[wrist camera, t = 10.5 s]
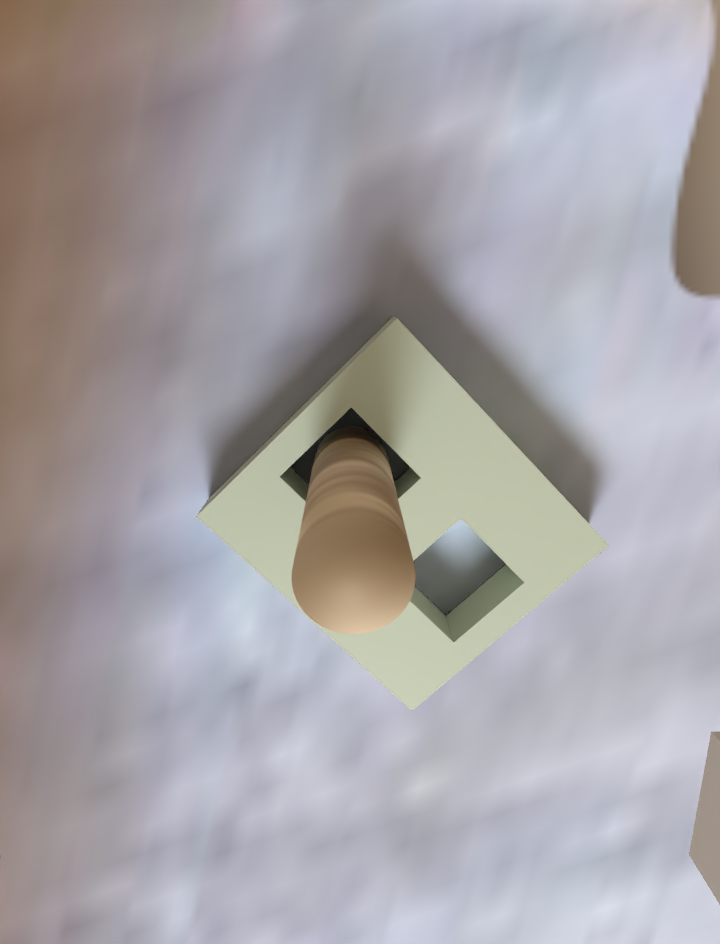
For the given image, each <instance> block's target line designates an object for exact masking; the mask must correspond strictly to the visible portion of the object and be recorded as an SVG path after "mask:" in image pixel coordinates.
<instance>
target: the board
mask: <svg viewBox="0 0 720 944" xmlns="http://www.w3.org/2000/svg"><path fill="white" fill-rule="evenodd" d="M350 408H352V409H353V410H354V411H355V412H356V413H357V414H358V415H359V416H360V417H361V418H362V419H363V420H364V421H365V422H366V423H367V424H368V425H369V426H370V427H371V428H372V429H373V430H374V431H375V432H376V433H377V434H378V435H379V436H380V437H381V438H382V439H383V440H384V441H385V442H386V443H387V444H388V445H389V446H390V447H391V448H392V449H393V450H394V451H395V452H396V453H397V454H398V455H399V456H400V457H401V458H402V459H403V460H404V461H405V462H406V463H407V464H408V465H409V466H410V468H409V469H408V470H407V471H406V472H405V473H404V474H403V475H402V476H401V477H400V478H399V479H397V480H396V481H395V482H394V485H395V489H396V493H397V497H398V501H399V505H400V509H401V513H402V517H403V521H404V525H405V529H406V533H407V537H408V541H409V545H410V549H411V553H412V558H413V561H414V560H415V559H416V558H417V557H418V556H419V555H421V554H422V553H423V552H424V551H425V550H426V549H427V548H428V547H430V546H431V545H432V544H433V543H434V542H435V541H436V540H437V539H438V538H440V537H441V536H442V535H443V534H444V533H445V532H446V531H447V530H449V529H450V528H451V527H452V526H453V525H454V524H455V523H456V522H457V521H459V520H460V519H462V520H463V521H464V522H465V523H466V524H467V525H468V526H469V527H470V528H471V529H472V530H473V531H474V532H475V533H476V534H477V535H478V536H479V537H480V538H481V539H482V540H483V541H484V542H485V543H486V544H487V545H488V546H489V547H490V548H491V549H492V550H493V551H494V552H495V553H496V554H497V555H498V556H499V557H500V558H501V559H502V560H503V561H504V562H505V563H506V565H504V566H503V567H502V568H501V569H500V570H499V571H497V572H496V573H495V574H494V575H493V576H492V577H490V578H489V579H488V580H487V581H486V582H485V583H484V584H482V585H481V586H480V587H479V588H478V589H477V590H475V591H474V592H473V593H472V594H471V595H470V596H468V597H467V598H466V599H465V600H464V601H463V602H462V603H460V604H459V605H458V606H457V607H456V608H455V609H453V610H452V611H451V612H450V613H449V614H448V615H446V616H445V615H444V614H443V613H442V612H441V611H440V610H439V609H438V608H437V607H436V606H435V605H434V604H433V603H432V602H431V601H429V600H428V599H427V598H426V597H425V596H424V595H423V594H422V593H421V592H420V591H419V590H418V589H417V588H416V587H414V591H413V594H412V597H411V599H410V601H409V603H408V605H407V607H406V608H405V609H404V611H403V612H402V613H401V614H400V615H399V616H398V617H397V618H396V619H395V620H393V621H392V622H391V623H389V624H388V625H386V626H384V627H382V628H380V629H378V630H375V631H372V632H368V633H363V634H344V633H338V632H335V631H331V630H329V629H326V628H324V627H322V626H320V625H319V624H317V623H316V622H314V621H313V620H312V619H311V618H309V617H308V615H307V614H306V613H305V612H304V611H303V610H302V608H301V607H300V605H299V604H298V602H297V600H296V597H295V595H294V592H293V587H292V579H291V578H292V568H293V563H294V558H295V553H296V548H297V543H298V538H299V533H300V528H301V523H302V518H303V513H304V508H305V503H306V498H307V493H308V488H309V484H308V483H307V482H306V481H305V480H303V479H302V478H301V477H300V476H299V475H298V474H297V473H296V472H295V471H294V470H293V469H292V468H291V467H290V466H291V465H292V464H293V463H294V462H295V461H296V460H297V459H298V458H299V457H301V456H302V455H303V454H304V453H305V452H306V451H307V450H308V449H309V448H310V447H311V446H312V445H313V444H314V443H315V442H316V441H317V440H318V439H319V438H320V437H321V436H322V435H323V434H324V433H325V432H326V431H327V430H328V429H329V428H330V427H331V426H332V425H333V424H335V423H336V422H337V421H338V420H339V419H340V418H341V417H342V416H343V415H344V414H345V413H346V412H347V411H348V410H349V409H350ZM196 517H197V518H198V519H200V520H201V521H202V522H203V523H204V524H205V525H206V526H207V527H208V528H210V529H211V530H212V531H213V532H214V533H215V534H216V535H217V536H218V537H220V538H221V539H222V540H223V541H224V542H225V543H226V544H227V545H228V546H230V547H231V548H232V549H233V550H234V551H235V552H236V553H237V554H238V555H239V556H241V557H242V558H243V559H244V560H245V561H246V562H247V563H248V564H249V565H251V566H252V567H253V568H254V569H255V570H256V571H257V572H258V573H259V574H261V575H262V576H263V577H264V578H265V579H266V580H267V581H268V582H269V583H271V584H272V585H273V586H274V587H275V588H276V589H277V590H278V591H279V592H280V593H282V594H283V595H284V596H285V597H286V598H287V599H288V600H289V601H290V602H292V603H293V604H294V605H295V606H296V607H297V608H298V609H299V610H300V611H302V612H303V613H304V614H305V615H306V616H307V617H308V618H309V619H310V620H311V621H313V622H314V623H315V624H316V625H317V626H318V627H319V628H320V629H321V630H323V631H324V632H325V633H326V634H327V635H328V636H329V637H330V638H331V639H333V640H334V641H335V642H336V643H337V644H338V645H339V646H340V647H341V648H343V649H344V650H345V651H346V652H347V653H348V654H349V655H350V656H351V657H352V658H354V659H355V660H356V661H357V662H358V663H359V664H360V665H361V666H362V667H364V668H365V669H366V670H367V671H368V672H369V673H370V674H371V675H372V676H374V677H375V678H376V679H377V680H378V681H379V682H380V683H381V684H382V685H383V686H385V687H386V688H387V689H388V690H389V691H390V692H391V693H392V694H393V695H395V696H396V697H397V698H398V699H399V700H400V701H401V702H402V703H403V704H405V705H406V706H407V707H408V708H409V709H410V710H411V711H412V710H414V709H415V708H416V707H417V706H418V705H420V704H421V703H422V702H423V701H424V700H425V699H427V698H428V697H429V696H430V695H431V694H433V693H434V692H435V691H436V690H437V689H439V688H440V687H441V686H442V685H443V684H445V683H446V682H447V681H448V680H449V679H450V678H452V677H453V676H454V675H455V674H456V673H458V672H459V671H460V670H461V669H462V668H464V667H465V666H466V665H467V664H468V663H470V662H471V661H472V660H473V659H474V658H475V657H477V656H478V655H479V654H480V653H481V652H483V651H484V650H485V649H486V648H487V647H489V646H490V645H491V644H492V643H493V642H495V641H496V640H497V639H498V638H499V637H500V636H502V635H503V634H504V633H505V632H506V631H508V630H509V629H510V628H511V627H512V626H514V625H515V624H516V623H517V622H518V621H520V620H521V619H522V618H523V617H524V616H525V615H527V614H528V613H529V612H530V611H531V610H533V609H534V608H535V607H536V606H537V605H539V604H540V603H541V602H542V601H543V600H545V599H546V598H547V597H548V596H549V595H550V594H552V593H553V592H554V591H555V590H556V589H558V588H559V587H560V586H561V585H562V584H564V583H565V582H566V581H567V580H568V579H570V578H571V577H572V576H573V575H574V574H575V573H577V572H578V571H579V570H580V569H581V568H583V567H584V566H585V565H586V564H587V563H589V562H590V561H591V560H592V559H593V558H595V557H596V556H597V555H598V554H599V553H600V552H602V551H603V550H604V549H605V548H606V547H608V546H609V545H608V544H607V543H606V541H605V540H604V539H603V538H602V537H601V536H600V535H599V534H598V533H597V532H596V531H595V530H594V529H593V528H592V526H591V525H590V524H589V523H588V522H587V521H586V520H585V519H584V518H583V517H582V516H581V515H580V514H579V513H578V511H577V510H576V509H575V508H574V507H573V506H572V505H571V504H570V503H569V502H568V501H567V500H566V499H565V497H564V496H563V495H562V494H561V493H560V492H559V491H558V490H557V489H556V488H555V487H554V486H553V485H552V484H551V482H550V481H549V480H548V479H547V478H546V477H545V476H544V475H543V474H542V473H541V472H540V471H539V470H538V469H537V467H536V466H535V465H534V464H533V463H532V462H531V461H530V460H529V459H528V458H527V457H526V456H525V455H524V454H523V452H522V451H521V450H520V449H519V448H518V447H517V446H516V445H515V444H514V443H513V442H512V441H511V440H510V438H509V437H508V436H507V435H506V434H505V433H504V432H503V431H502V430H501V429H500V428H499V427H498V426H497V425H496V423H495V422H494V421H493V420H492V419H491V418H490V417H489V416H488V415H487V414H486V413H485V412H484V411H483V410H482V408H481V407H480V406H479V405H478V404H477V403H476V402H475V401H474V400H473V399H472V398H471V397H470V396H469V394H468V393H467V392H466V391H465V390H464V389H463V388H462V387H461V386H460V385H459V384H458V383H457V382H456V381H455V379H454V378H453V377H452V376H451V375H450V374H449V373H448V372H447V371H446V370H445V369H444V368H443V367H442V366H441V364H440V363H439V362H438V361H437V360H436V359H435V358H434V357H433V356H432V355H431V354H430V353H429V352H428V351H427V349H426V348H425V347H424V346H423V345H422V344H421V343H420V342H419V341H418V340H417V339H416V338H415V337H414V335H413V334H412V333H411V332H410V331H409V330H408V329H407V328H406V327H405V326H404V325H403V324H402V323H401V322H400V320H399V319H398V318H396V317H394V316H393V317H392V318H391V319H390V320H389V321H388V322H387V323H386V324H385V325H384V326H383V327H382V328H381V329H380V330H379V331H378V332H377V333H376V334H375V335H374V336H372V337H371V338H370V339H369V340H368V341H367V342H366V343H365V344H364V345H363V346H362V347H361V348H360V349H359V350H358V351H357V352H356V353H355V354H354V355H353V356H352V357H351V358H350V359H349V360H348V361H347V362H346V363H345V364H344V365H343V366H342V367H341V368H340V369H339V370H338V371H337V372H336V373H335V374H334V375H333V376H332V377H331V378H330V379H329V380H328V381H327V382H326V383H325V384H324V385H323V386H322V387H321V388H320V389H319V390H318V391H317V392H316V393H315V394H314V395H313V396H312V397H311V398H310V399H309V400H308V401H307V402H306V403H305V404H304V405H303V406H302V407H301V408H300V409H299V410H298V411H297V412H296V413H295V414H294V415H293V416H292V417H291V418H290V419H289V420H288V421H287V422H285V423H284V424H283V425H282V426H281V427H280V428H279V429H278V430H277V431H276V432H275V433H274V434H273V435H272V436H271V437H270V438H269V439H268V440H267V441H266V442H265V443H264V444H263V445H262V446H261V447H260V448H259V449H258V450H257V451H256V452H255V453H254V454H253V455H252V456H251V457H250V458H249V459H248V460H247V461H246V462H245V463H244V464H243V465H242V466H241V467H240V468H239V469H238V470H237V471H236V472H235V473H234V474H233V475H232V476H231V477H230V478H229V479H228V480H227V481H226V482H225V483H224V484H223V485H222V486H221V487H220V488H219V489H218V490H217V491H216V492H215V493H214V494H213V495H212V496H211V497H210V498H209V499H208V500H207V502H206V503H205V504H204V506H203V507H202V509H201V510H200V512H199V513H198V515H197V516H196Z"/></svg>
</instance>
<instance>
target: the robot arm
mask: <svg viewBox="0 0 720 944" xmlns="http://www.w3.org/2000/svg"><path fill="white" fill-rule="evenodd" d="M689 855H690V857H691V858H692V860H693V862H694V863H695V865H696V867H697V868H698V870H699V871H700V873H701V875H702V876H703V878H704V880H705V881H706V883H707V884H708V886H709V888H710V889H711V891H712V893H713V894H714V896H715V898H716V899H717V901H718V902H719V904H720V732H711V736H710V742H709V747H708V753H707V759H706V764H705V770H704V775H703V781H702V786H701V792H700V797H699V803H698V808H697V814H696V819H695V825H694V830H693V836H692V841H691V847H690V852H689ZM0 859H1V856H0Z"/></svg>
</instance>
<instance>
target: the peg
mask: <svg viewBox="0 0 720 944" xmlns="http://www.w3.org/2000/svg"><path fill="white" fill-rule="evenodd" d="M291 579H292V587H293V592H294V595H295V597H296V600H297V602H298V604H299V605H300V607H301V608H302V610H303V611H304V612H305V613H306V614H307V615H308V617H309V618H311V619H312V620H313V621H314V622H316V623H317V624H319V625H320V626H322V627H324V628H326V629H329V630H331V631H335V632H338V633H344V634H363V633H368V632H372V631H375V630H378V629H380V628H382V627H384V626H386V625H388V624H389V623H391V622H392V621H393V620H395V619H396V618H397V617H398V616H399V615H400V614H401V613H402V612H403V611H404V609H405V608H406V607H407V605H408V603H409V601H410V599H411V597H412V594H413V591H414V587H415V580H416V576H415V566H414V562H413V558H412V553H411V549H410V545H409V541H408V537H407V533H406V529H405V525H404V521H403V517H402V513H401V509H400V505H399V501H398V497H397V493H396V489H395V485H394V481H393V477H392V472H391V467H390V464H389V460H388V456H387V453H386V449H385V447H384V445H383V443H382V442H381V440H380V439H379V438H378V437H377V436H376V435H375V434H373V433H372V432H370V431H368V430H366V429H364V428H361V427H355V426H346V427H341V428H338V429H336V430H334V431H332V432H330V433H329V434H328V435H326V436H325V437H324V438H323V440H322V441H321V442H320V444H319V445H318V447H317V450H316V453H315V458H314V463H313V466H312V471H311V478H310V483H309V488H308V493H307V498H306V503H305V508H304V513H303V518H302V523H301V528H300V533H299V538H298V543H297V548H296V553H295V558H294V563H293V568H292V578H291Z"/></svg>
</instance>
